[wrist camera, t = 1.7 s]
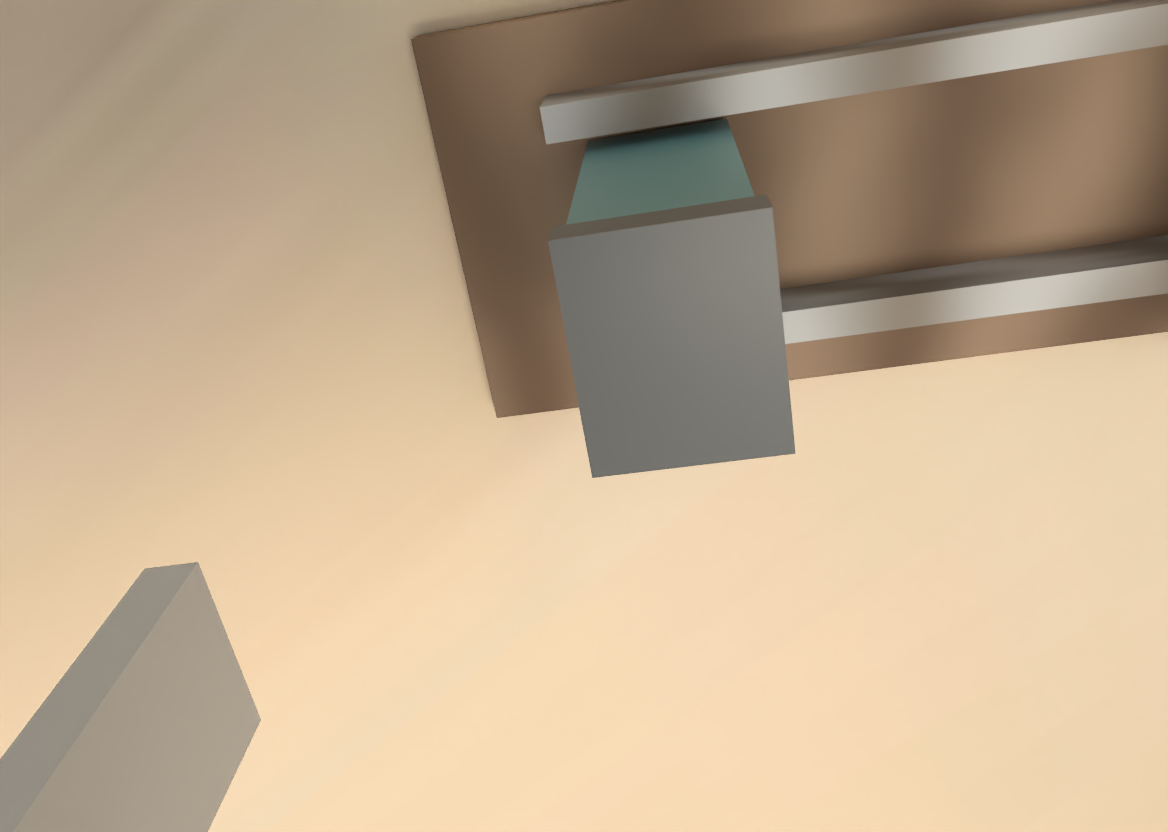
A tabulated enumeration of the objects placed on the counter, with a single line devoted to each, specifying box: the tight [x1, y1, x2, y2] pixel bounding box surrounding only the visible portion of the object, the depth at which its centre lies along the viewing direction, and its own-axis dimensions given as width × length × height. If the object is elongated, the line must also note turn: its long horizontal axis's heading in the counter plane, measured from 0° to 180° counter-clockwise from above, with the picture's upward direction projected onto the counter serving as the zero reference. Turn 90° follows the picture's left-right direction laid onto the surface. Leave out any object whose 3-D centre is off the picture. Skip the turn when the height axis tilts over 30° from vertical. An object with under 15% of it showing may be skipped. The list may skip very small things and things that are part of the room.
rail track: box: [411, 0, 1168, 418], centre depth 30 cm, size 28×12×3 cm, turn 99°
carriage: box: [548, 119, 795, 478], centre depth 26 cm, size 4×5×11 cm
